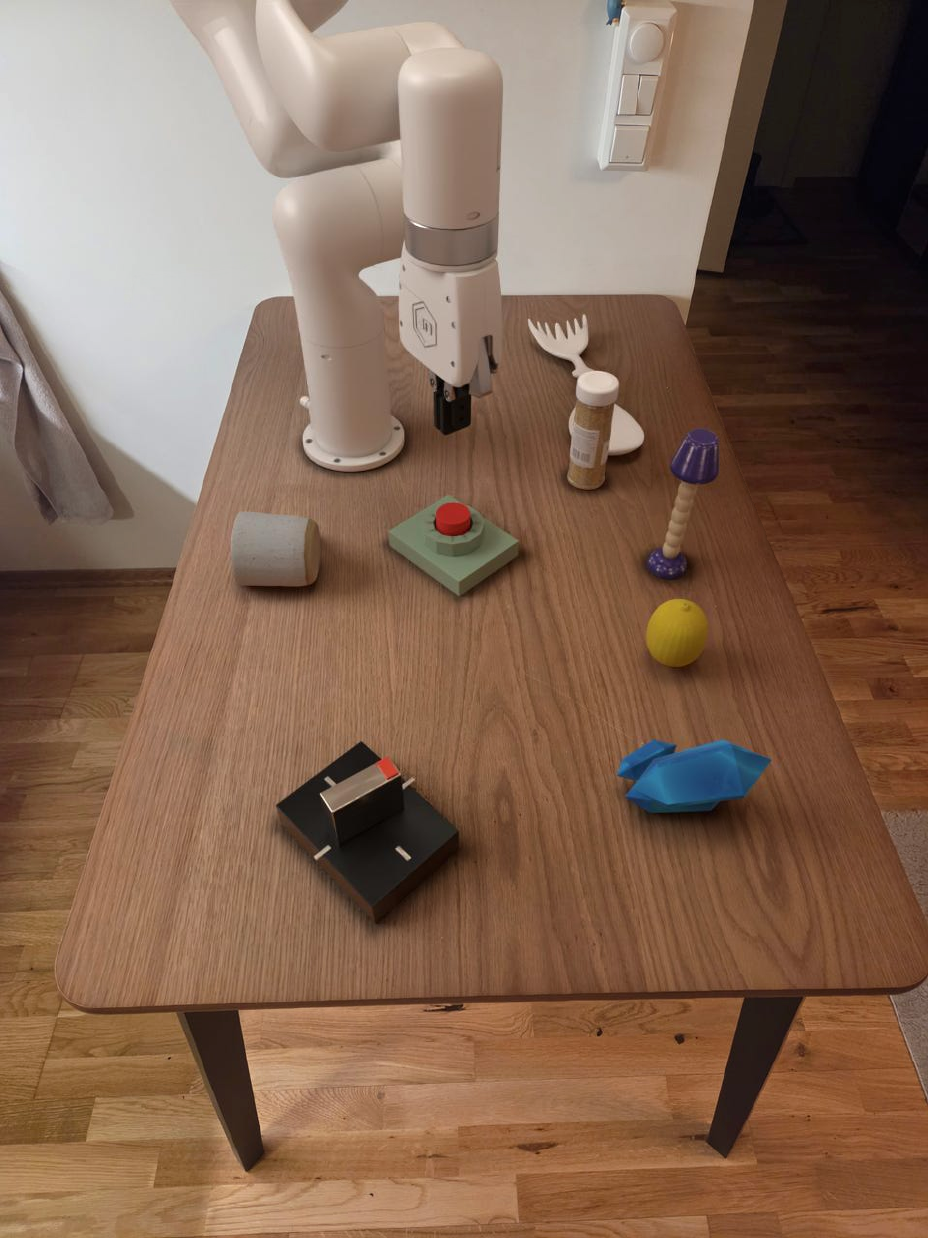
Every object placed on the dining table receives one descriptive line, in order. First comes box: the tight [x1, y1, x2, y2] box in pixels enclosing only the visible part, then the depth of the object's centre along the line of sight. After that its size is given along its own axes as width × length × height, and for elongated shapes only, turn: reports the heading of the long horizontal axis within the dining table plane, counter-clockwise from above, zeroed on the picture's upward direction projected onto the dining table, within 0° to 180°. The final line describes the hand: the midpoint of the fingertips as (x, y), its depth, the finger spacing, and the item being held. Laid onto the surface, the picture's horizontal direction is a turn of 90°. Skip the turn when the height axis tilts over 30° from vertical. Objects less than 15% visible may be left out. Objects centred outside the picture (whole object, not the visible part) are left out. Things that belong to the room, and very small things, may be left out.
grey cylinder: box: [230, 510, 321, 587], centre depth 90 cm, size 11×8×8 cm
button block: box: [388, 494, 520, 597], centre depth 93 cm, size 11×9×4 cm
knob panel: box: [275, 740, 460, 925], centre depth 69 cm, size 12×10×3 cm
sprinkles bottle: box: [566, 370, 620, 491], centre depth 98 cm, size 5×5×14 cm
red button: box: [436, 502, 470, 537], centre depth 91 cm, size 4×4×2 cm
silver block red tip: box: [320, 756, 405, 845], centre depth 66 cm, size 6×2×5 cm, turn 124°
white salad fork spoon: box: [527, 313, 645, 456], centre depth 114 cm, size 9×32×4 cm, turn 9°
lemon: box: [645, 598, 709, 668], centre depth 81 cm, size 6×6×8 cm
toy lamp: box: [646, 428, 720, 580], centre depth 86 cm, size 5×5×17 cm
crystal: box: [616, 738, 772, 814], centre depth 70 cm, size 7×9×12 cm
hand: (452, 426), depth 82 cm, fingers closed
